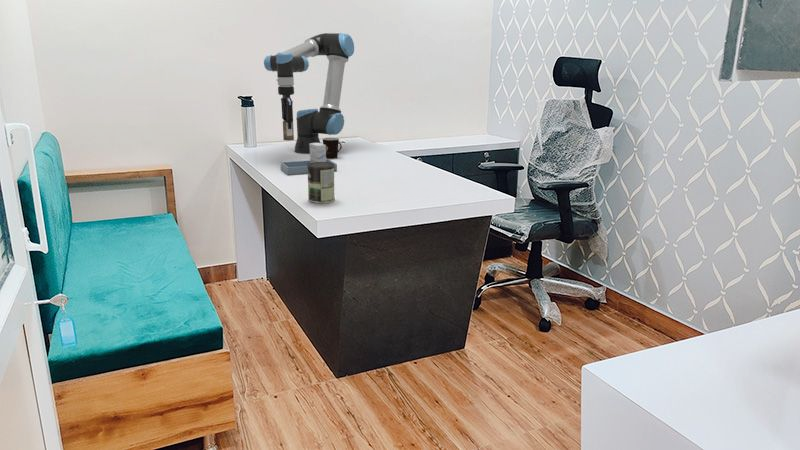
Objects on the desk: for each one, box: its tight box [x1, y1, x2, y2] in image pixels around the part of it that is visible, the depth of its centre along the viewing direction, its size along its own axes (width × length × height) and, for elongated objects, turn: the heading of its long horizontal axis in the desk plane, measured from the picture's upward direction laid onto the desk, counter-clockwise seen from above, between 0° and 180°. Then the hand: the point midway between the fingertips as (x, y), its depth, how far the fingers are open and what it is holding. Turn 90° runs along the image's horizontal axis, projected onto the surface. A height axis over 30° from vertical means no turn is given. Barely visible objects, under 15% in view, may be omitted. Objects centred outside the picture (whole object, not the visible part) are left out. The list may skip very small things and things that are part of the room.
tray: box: [280, 159, 338, 176], centre depth 282 cm, size 14×24×4 cm, turn 114°
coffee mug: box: [322, 137, 343, 160], centre depth 312 cm, size 12×9×10 cm
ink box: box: [309, 142, 326, 163], centre depth 283 cm, size 9×5×12 cm, turn 33°
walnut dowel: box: [282, 120, 295, 142], centre depth 291 cm, size 5×5×9 cm
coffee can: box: [307, 162, 335, 204], centre depth 229 cm, size 10×10×14 cm
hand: (288, 134), depth 292 cm, fingers closed on walnut dowel, 5 cm apart
